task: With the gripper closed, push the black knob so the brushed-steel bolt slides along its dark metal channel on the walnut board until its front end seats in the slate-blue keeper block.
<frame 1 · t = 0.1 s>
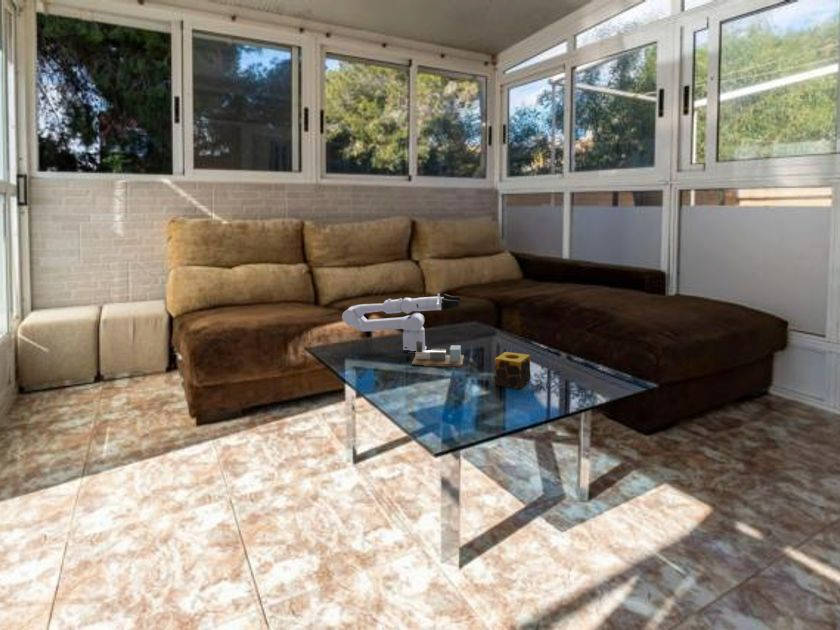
hand: (460, 301, 237), 22 cm above the table, tool horizontal, fingers open, 7 cm apart
candle: (512, 383, 200), on the table
guide board: (438, 361, 227), on the table
bolt: (430, 350, 227), point 5 cm above the table, slide at 0.0 cm
keeper: (455, 353, 226), on the guide board, point 4 cm above the table
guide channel: (438, 354, 227), on the guide board, point 3 cm above the table
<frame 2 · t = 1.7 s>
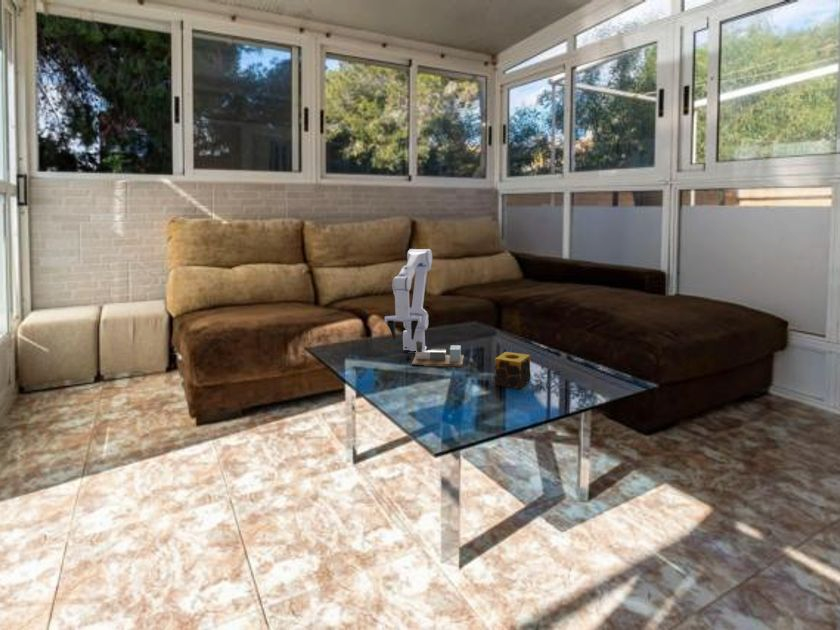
hand: (403, 338, 227), 9 cm above the table, tool pointing down, fingers open, 7 cm apart
nothing on the table moved.
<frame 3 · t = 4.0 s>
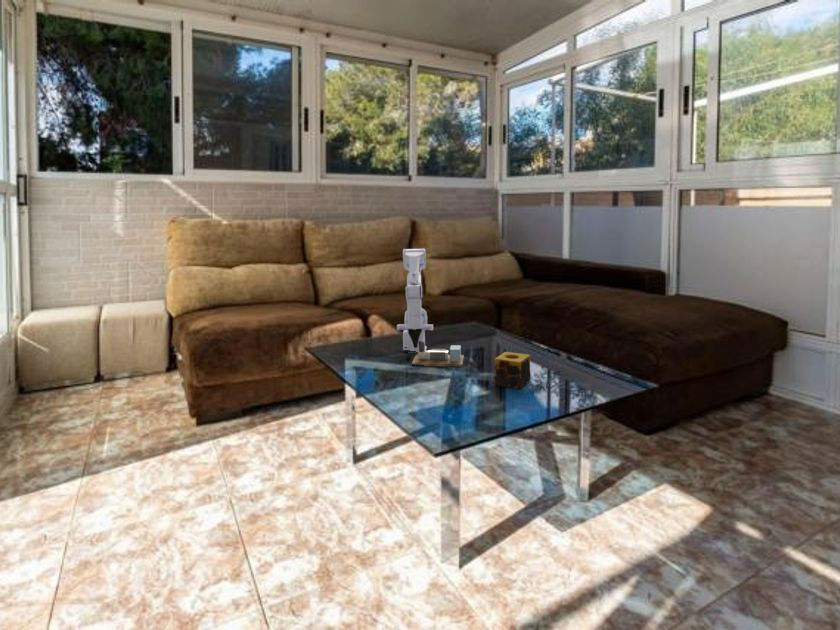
hand: (415, 347, 227), 6 cm above the table, tool pointing down, fingers closed
bolt: (433, 350, 226), point 5 cm above the table, slide at 1.0 cm, touching gripper
everything else where it was.
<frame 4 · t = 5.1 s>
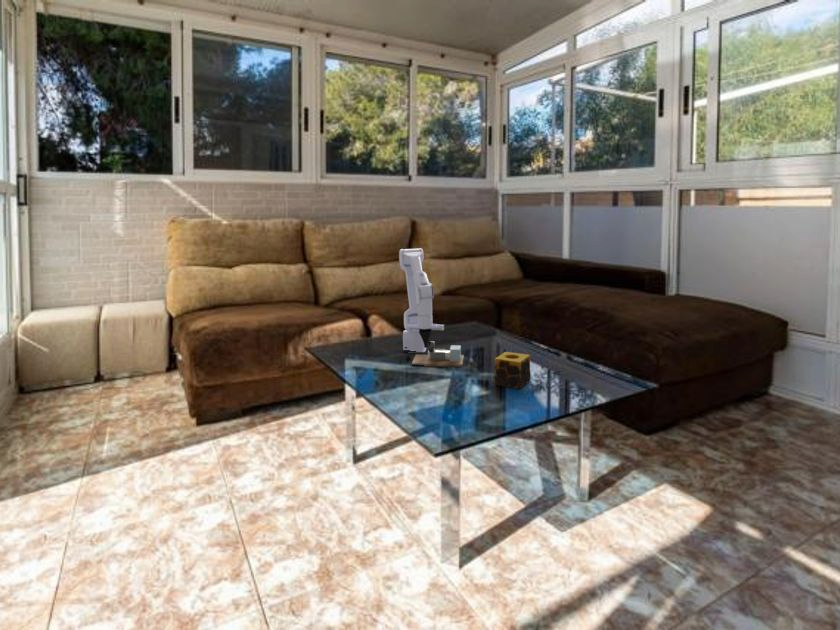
hand: (426, 347, 227), 6 cm above the table, tool pointing down, fingers closed
bolt: (443, 350, 226), point 5 cm above the table, slide at 5.0 cm, touching gripper, keeper
everything else where it was.
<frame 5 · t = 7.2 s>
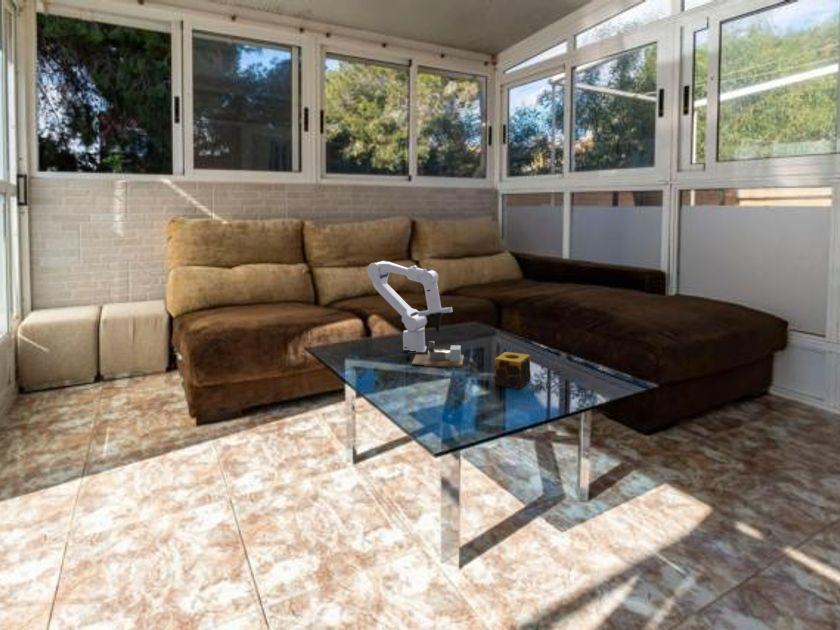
hand: (438, 330, 237), 10 cm above the table, tool pointing down, fingers closed
bolt: (443, 350, 226), point 5 cm above the table, slide at 5.0 cm, touching keeper
everything else where it was.
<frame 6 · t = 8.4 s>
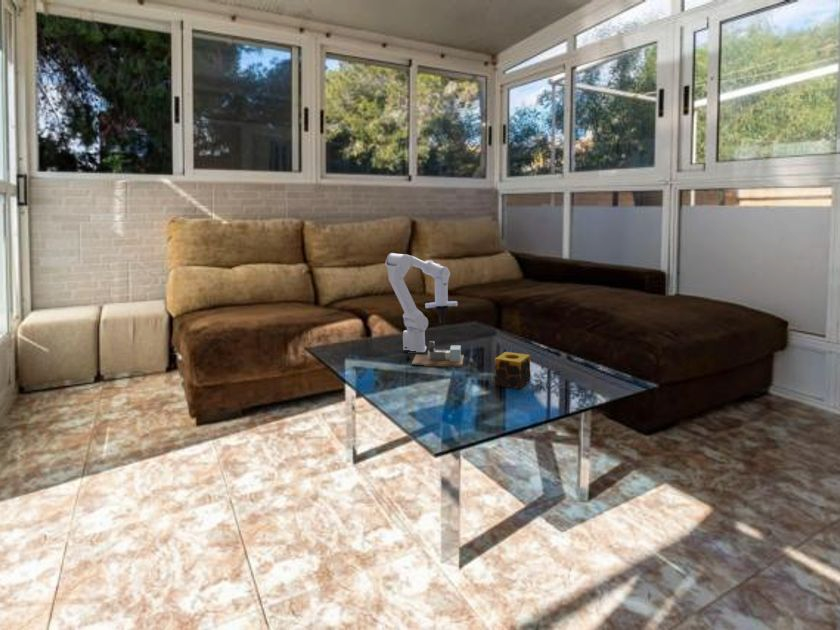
hand: (441, 322, 252), 9 cm above the table, tool pointing down, fingers closed
nothing on the table moved.
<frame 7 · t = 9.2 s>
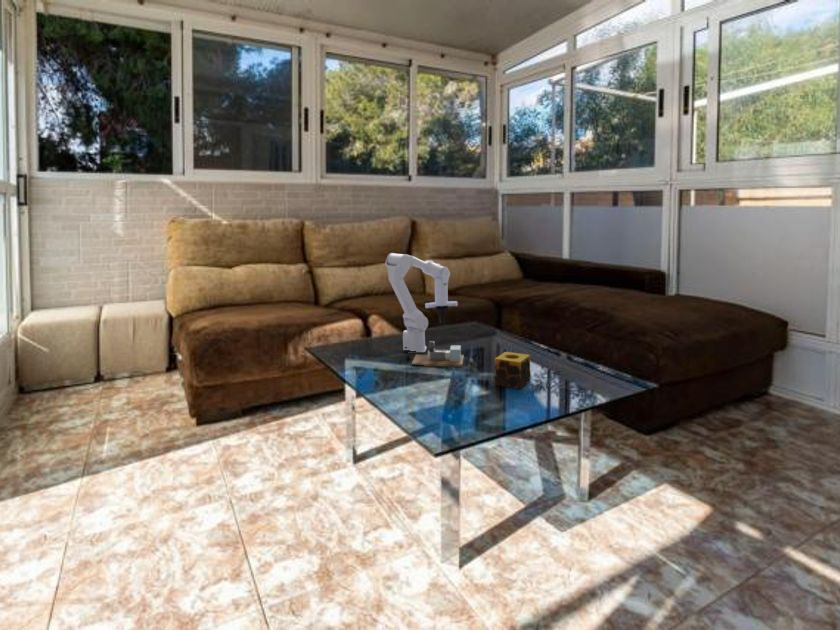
hand: (441, 322, 252), 9 cm above the table, tool pointing down, fingers closed
nothing on the table moved.
at the end: bolt slide at 5.0 cm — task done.
